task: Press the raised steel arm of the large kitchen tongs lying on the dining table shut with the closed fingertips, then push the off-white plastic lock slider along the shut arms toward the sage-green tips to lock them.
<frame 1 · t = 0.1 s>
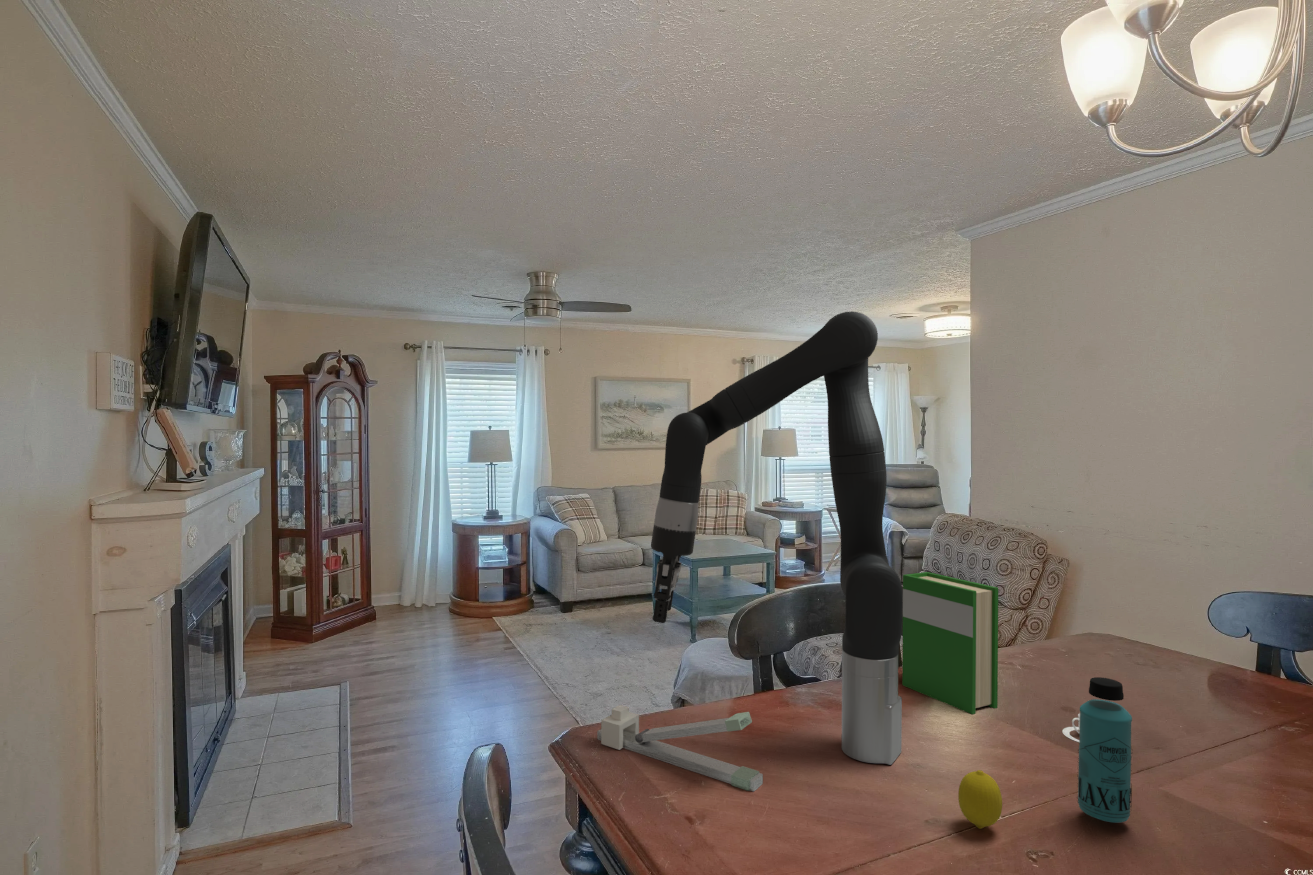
hand: (662, 615, 123), 22 cm above the table, fingers open, 8 cm apart
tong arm: (693, 727, 114), point 6 cm above the table, hinge at 20.0°
lock slider: (620, 724, 123), point 3 cm above the table, slide at 0.0 cm
teacup and saucer: (1105, 746, 123), on the table
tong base: (643, 749, 120), on the table
beverage bottle: (1104, 822, 98), on the table
hardback book: (947, 696, 145), on the table
lemon: (979, 829, 97), on the table
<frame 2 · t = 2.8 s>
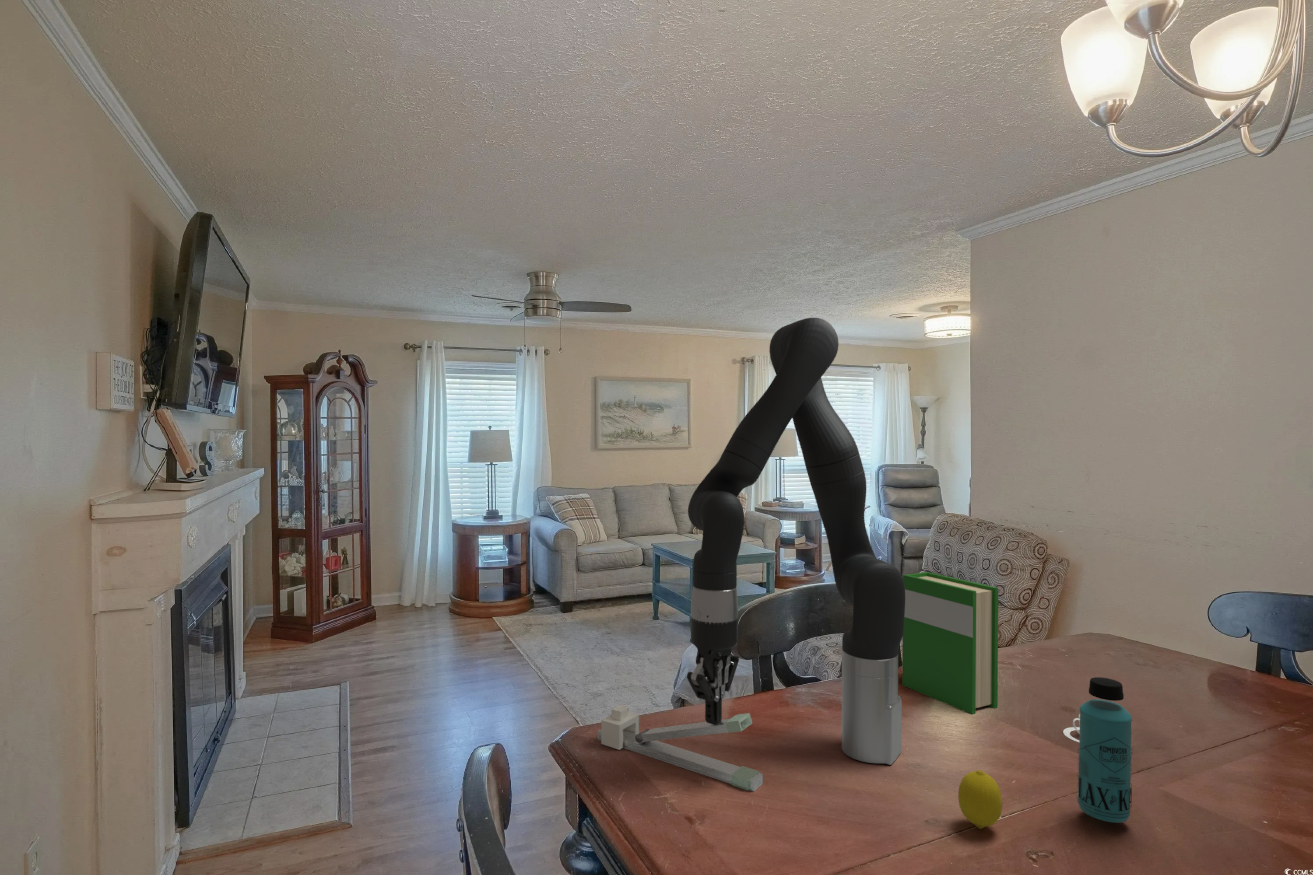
hand: (713, 721, 112), 8 cm above the table, fingers closed
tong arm: (694, 728, 114), point 6 cm above the table, hinge at 19.4°, touching gripper
everything else where it was.
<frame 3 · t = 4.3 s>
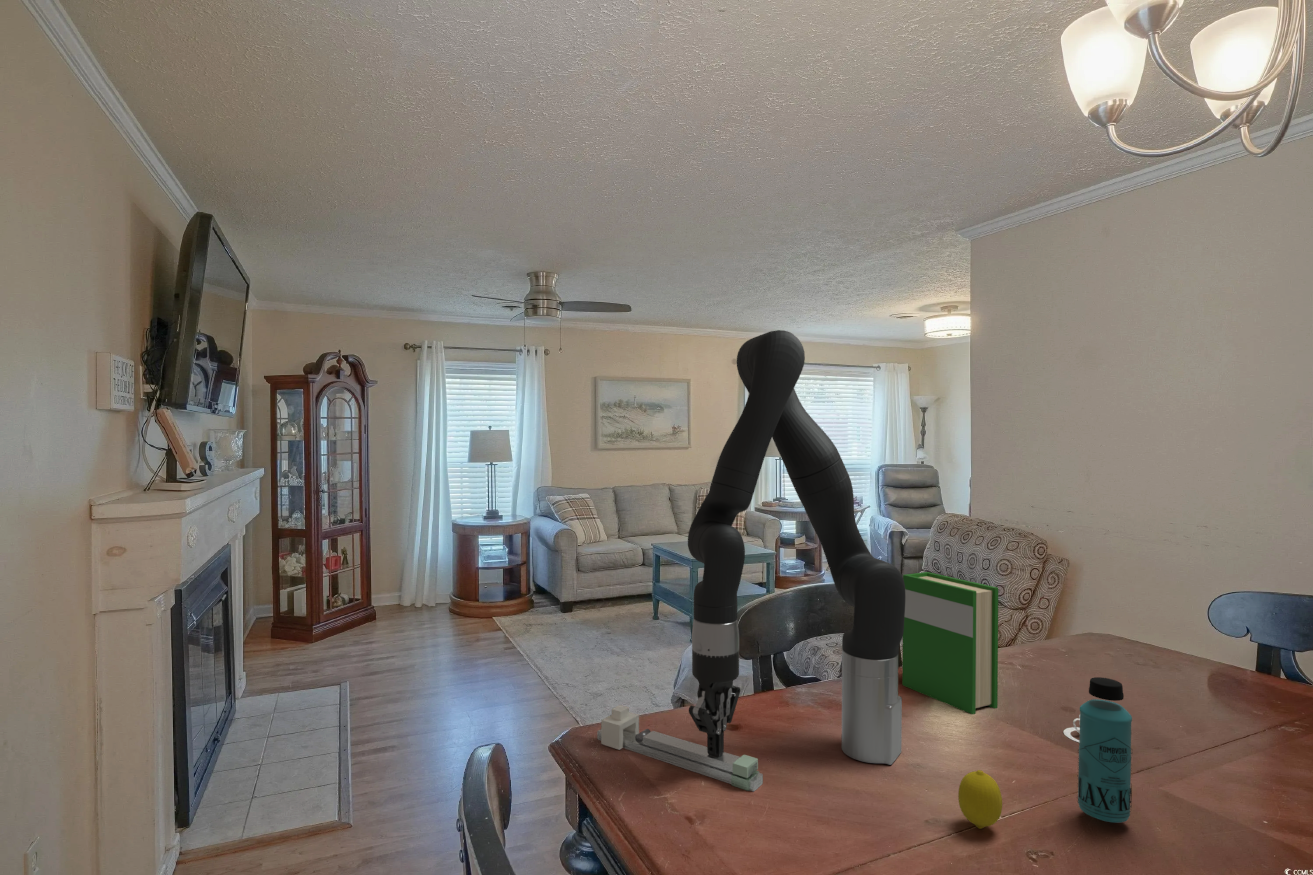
hand: (715, 754, 112), 3 cm above the table, fingers closed
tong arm: (697, 751, 114), point 3 cm above the table, hinge at 0.3°, touching gripper
everything else where it was.
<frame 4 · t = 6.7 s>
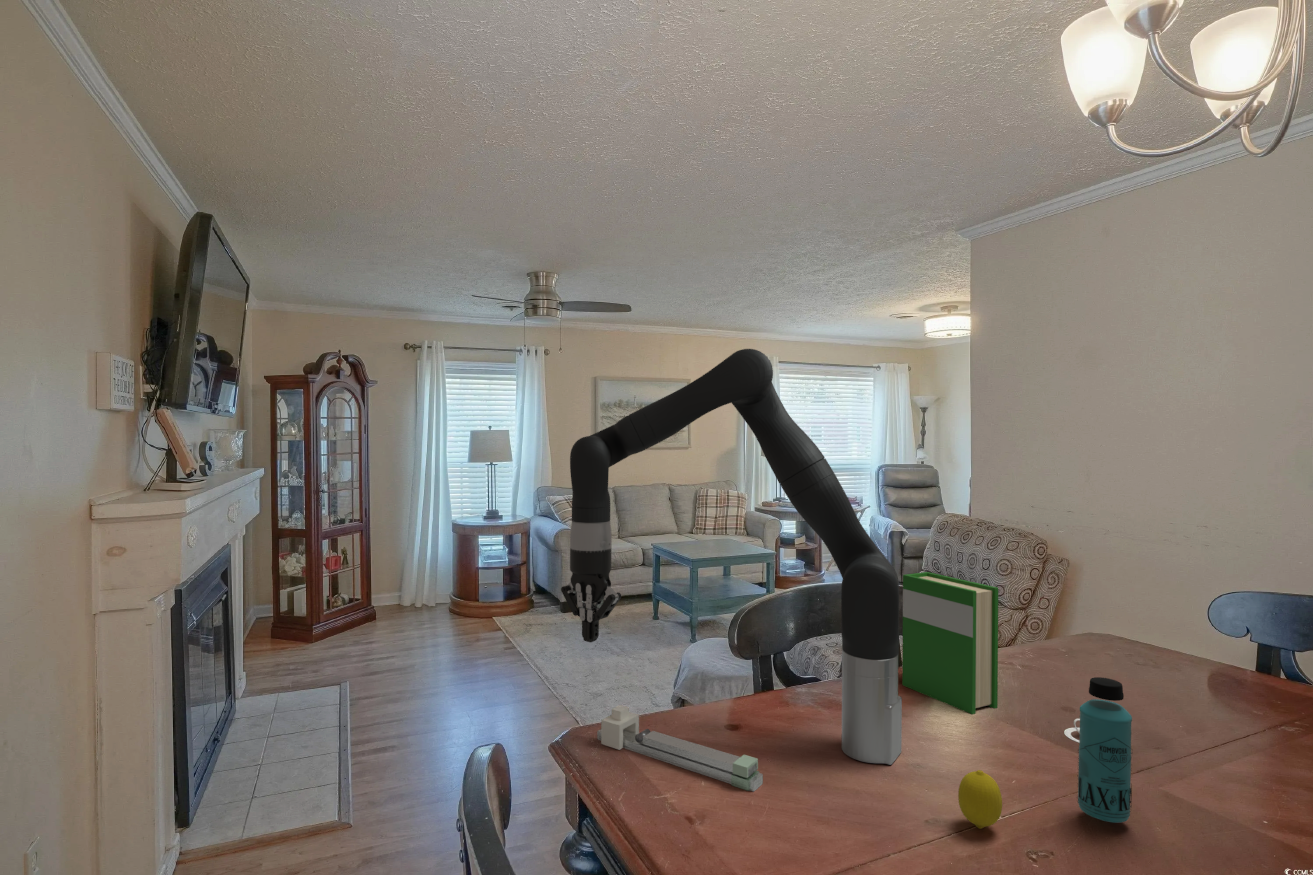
hand: (590, 640, 127), 17 cm above the table, fingers closed
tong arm: (697, 751, 114), point 3 cm above the table, hinge at 0.3°
everything else where it was.
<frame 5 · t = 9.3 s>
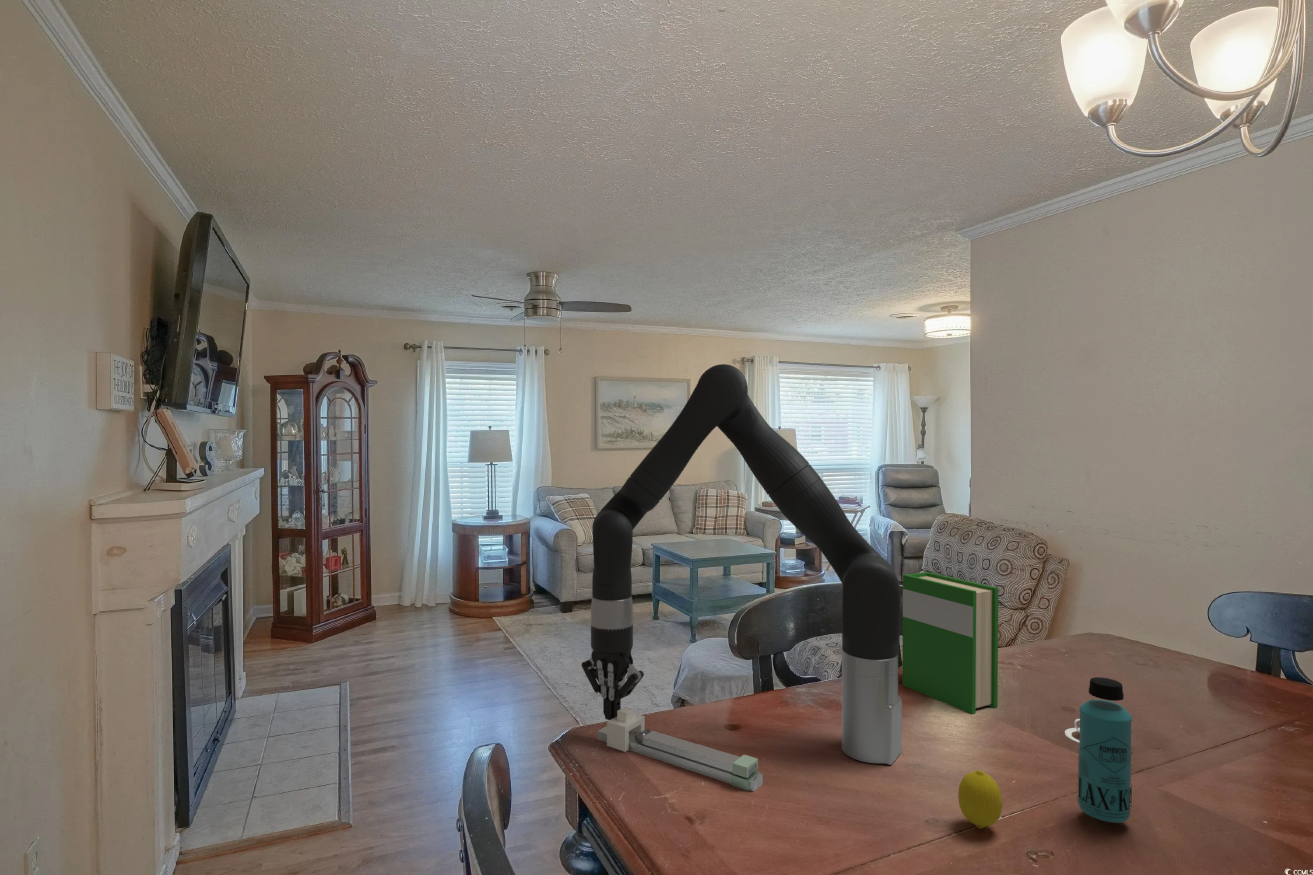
hand: (611, 718, 124), 4 cm above the table, fingers closed
lock slider: (626, 726, 122), point 3 cm above the table, slide at 1.3 cm, touching gripper
everything else where it was.
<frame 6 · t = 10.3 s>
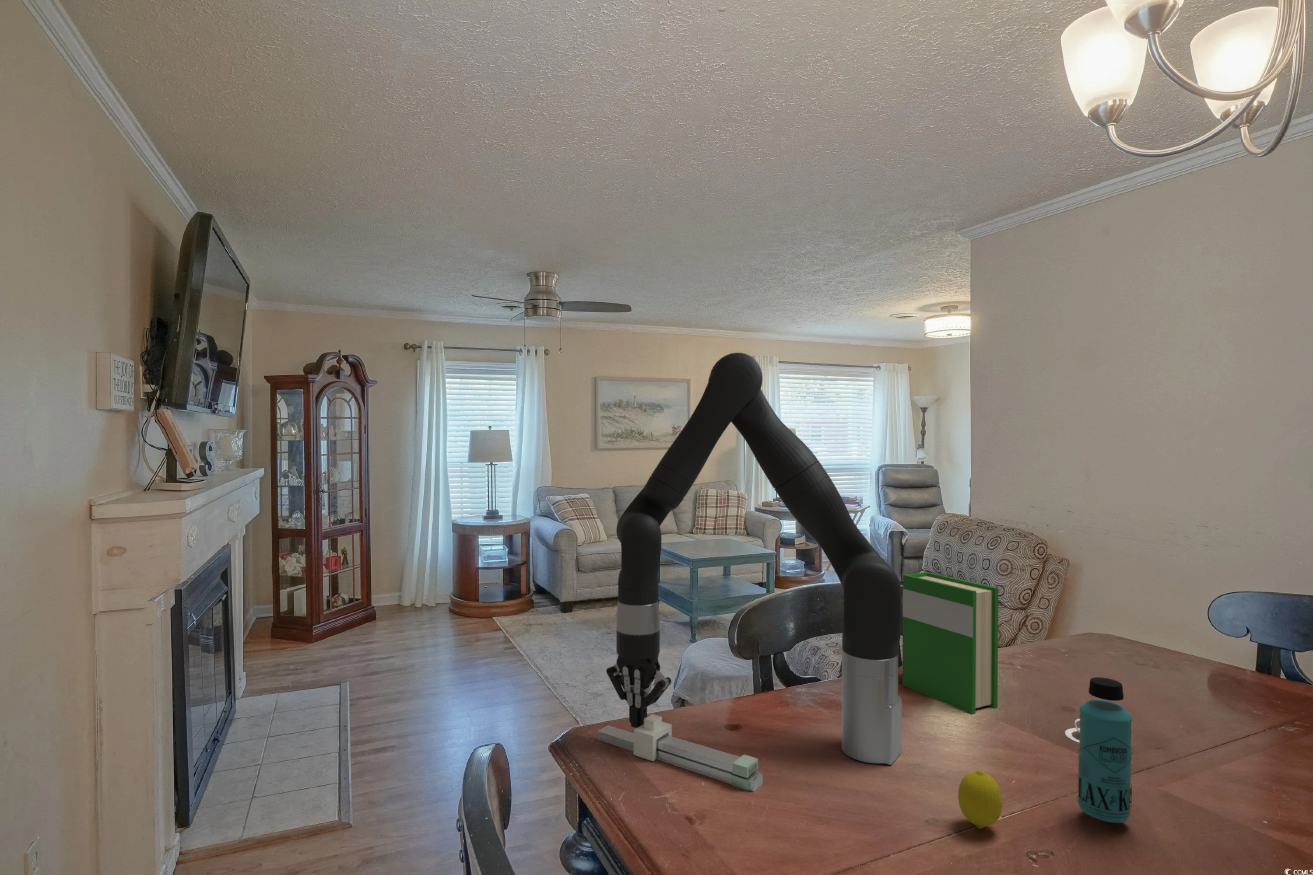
hand: (637, 726, 121), 4 cm above the table, fingers closed
lock slider: (652, 734, 119), point 3 cm above the table, slide at 7.1 cm, touching gripper
everything else where it was.
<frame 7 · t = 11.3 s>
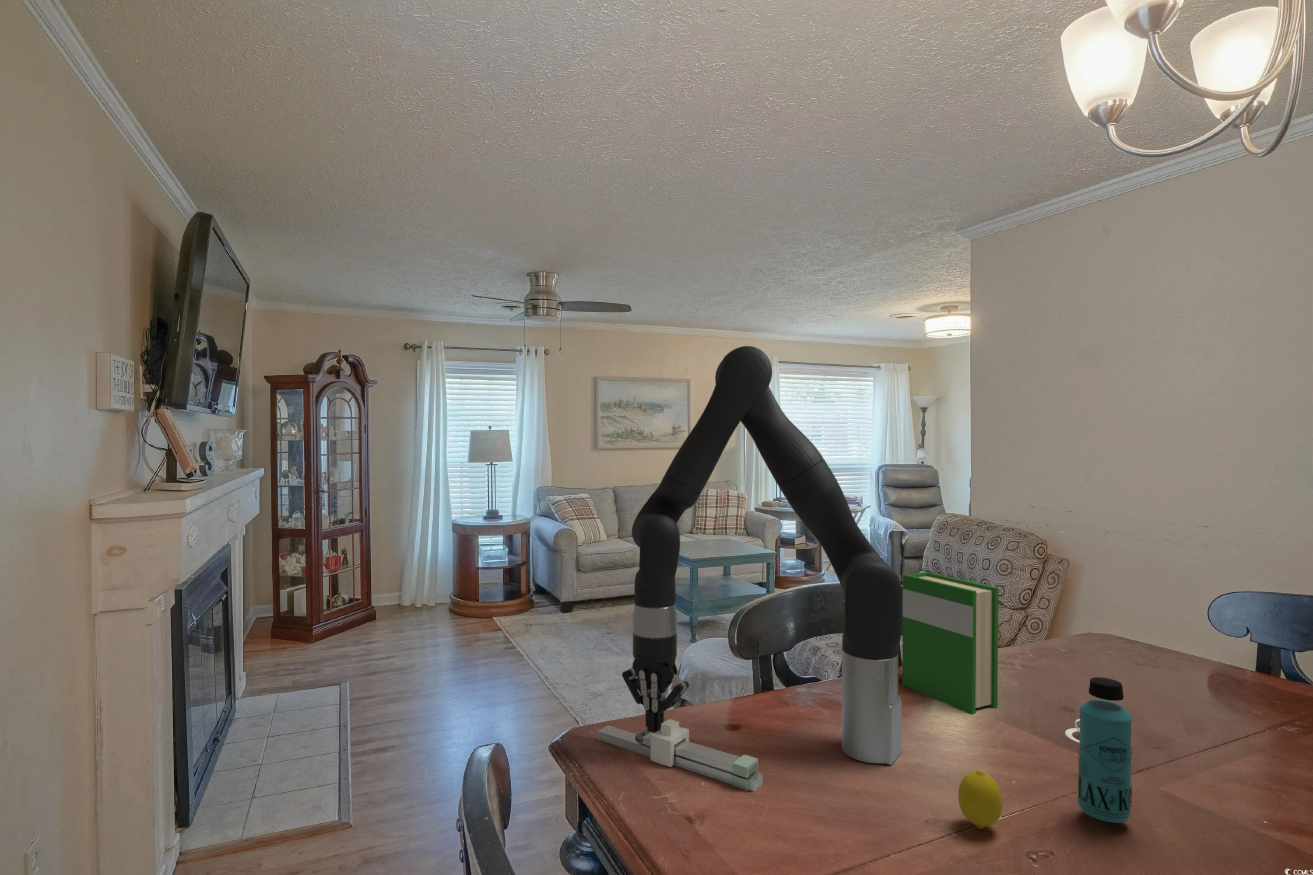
hand: (654, 730, 119), 4 cm above the table, fingers closed
lock slider: (670, 739, 117), point 3 cm above the table, slide at 10.6 cm, touching gripper
everything else where it was.
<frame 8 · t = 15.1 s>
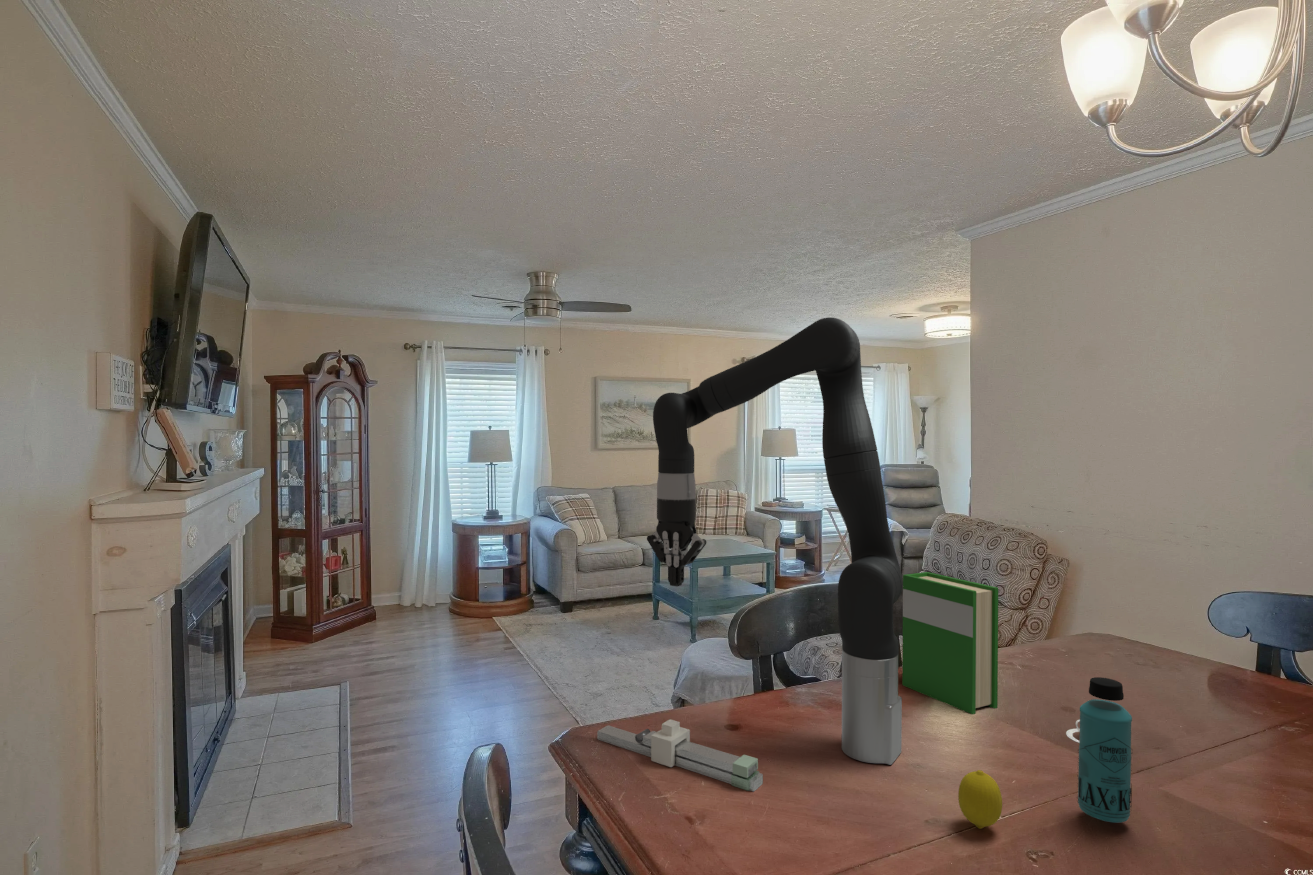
hand: (675, 585, 135), 25 cm above the table, fingers closed
lock slider: (670, 740, 117), point 3 cm above the table, slide at 10.7 cm
everything else where it was.
at the end: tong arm at +0° (first picture: +20°); lock slider slide at 10.7 cm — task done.
